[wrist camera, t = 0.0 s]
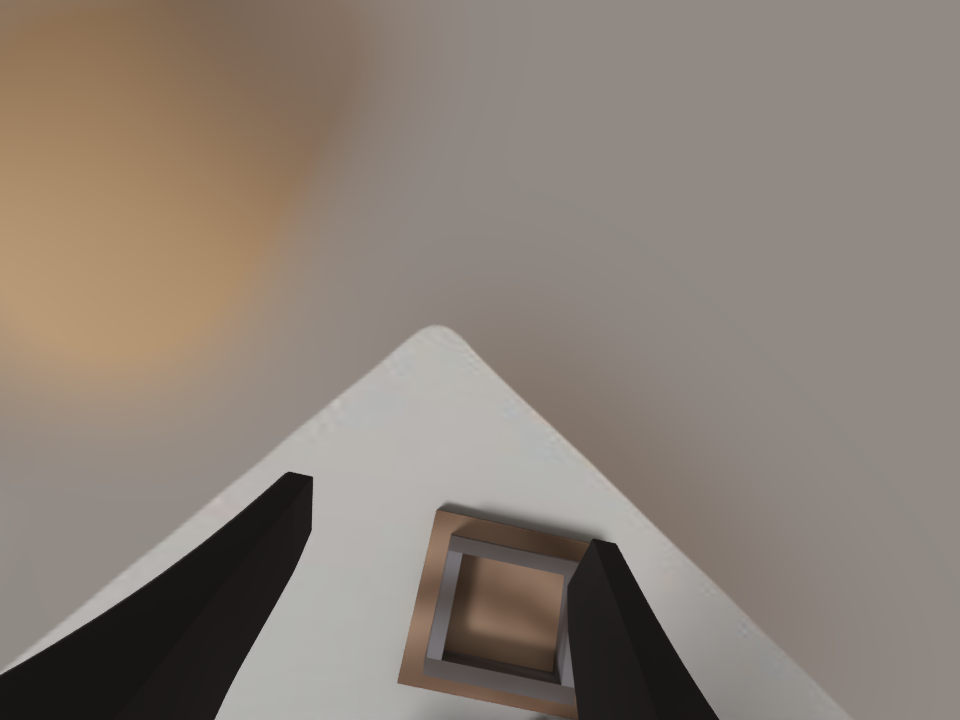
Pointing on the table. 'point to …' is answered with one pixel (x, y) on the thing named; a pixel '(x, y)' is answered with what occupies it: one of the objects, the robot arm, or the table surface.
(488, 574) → the socket board
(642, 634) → the robot arm
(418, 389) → the table surface
